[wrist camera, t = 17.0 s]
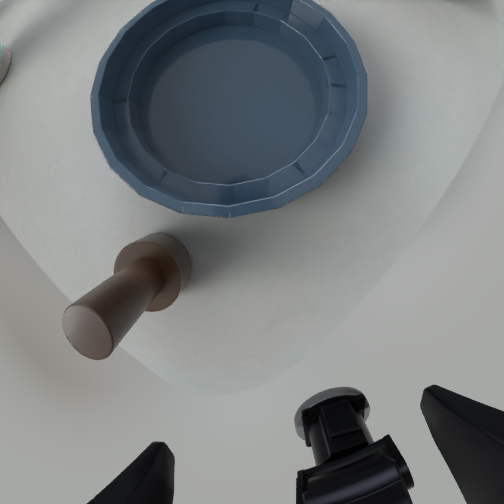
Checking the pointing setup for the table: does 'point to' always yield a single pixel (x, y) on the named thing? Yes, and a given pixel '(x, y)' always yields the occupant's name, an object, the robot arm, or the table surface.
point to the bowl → (228, 103)
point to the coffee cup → (4, 61)
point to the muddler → (127, 294)
